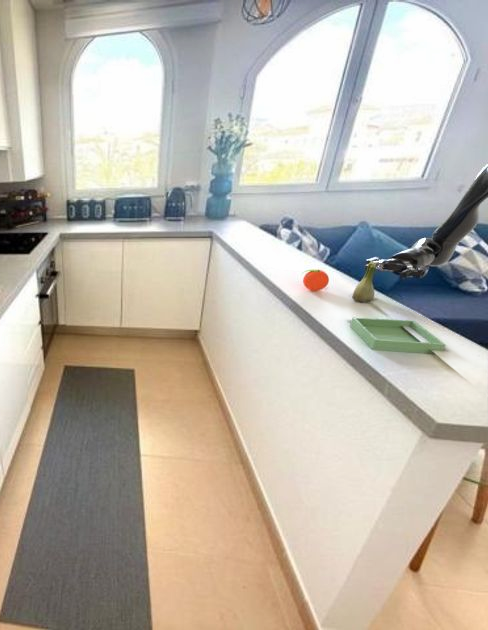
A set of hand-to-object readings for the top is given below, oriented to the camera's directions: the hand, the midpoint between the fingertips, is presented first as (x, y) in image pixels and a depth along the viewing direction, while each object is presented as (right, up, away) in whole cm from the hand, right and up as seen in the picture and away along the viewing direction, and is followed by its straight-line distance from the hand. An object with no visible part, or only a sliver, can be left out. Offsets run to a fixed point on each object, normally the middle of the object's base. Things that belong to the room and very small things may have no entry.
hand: (384, 271), depth 105 cm
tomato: (-16, -5, +9) cm, 19 cm away
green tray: (-17, -19, -20) cm, 33 cm away
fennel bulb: (-8, -9, -1) cm, 12 cm away
